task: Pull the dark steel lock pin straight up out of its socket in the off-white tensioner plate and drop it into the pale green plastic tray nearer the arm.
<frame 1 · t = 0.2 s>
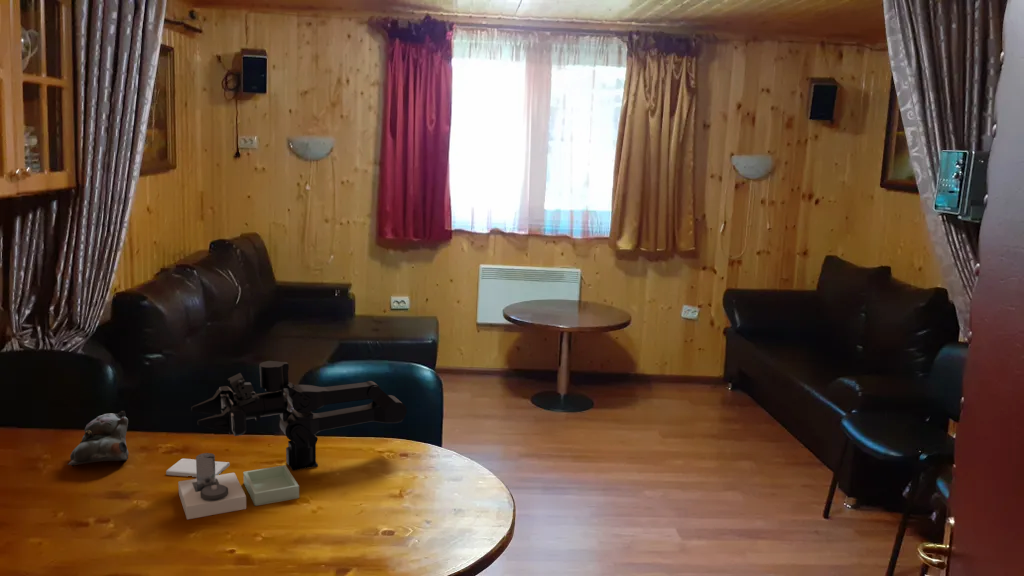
hand: (194, 415, 191), 17 cm above the table, tool horizontal, fingers open, 9 cm apart
external hard drive: (198, 472, 201), on the table
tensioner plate: (212, 501, 185), on the table
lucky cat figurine: (100, 462, 204), on the table
lock pin: (206, 497, 187), resting in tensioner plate
tray: (270, 490, 191), on the table
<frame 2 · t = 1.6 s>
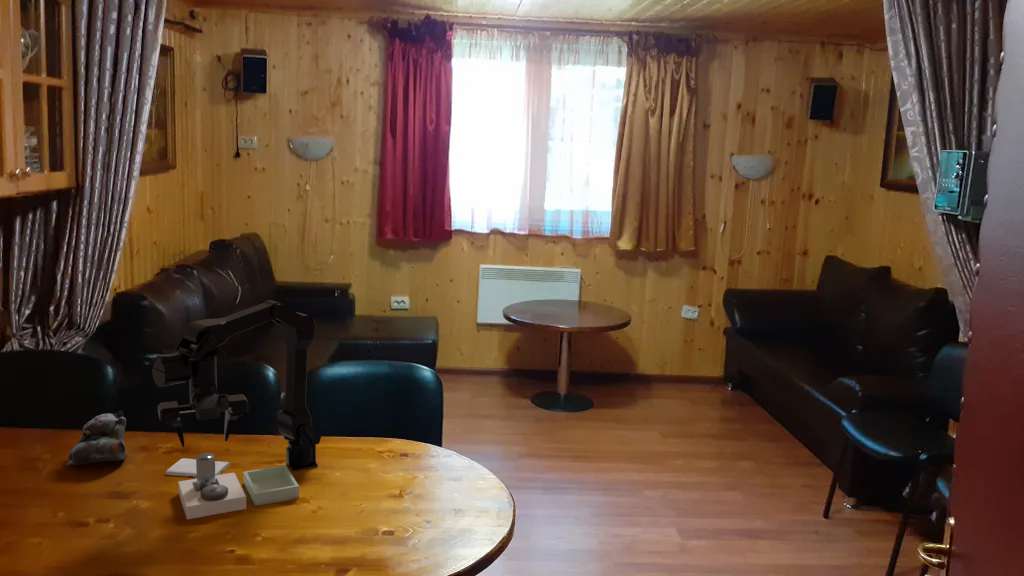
hand: (204, 443, 184), 13 cm above the table, tool pointing down, fingers open, 9 cm apart
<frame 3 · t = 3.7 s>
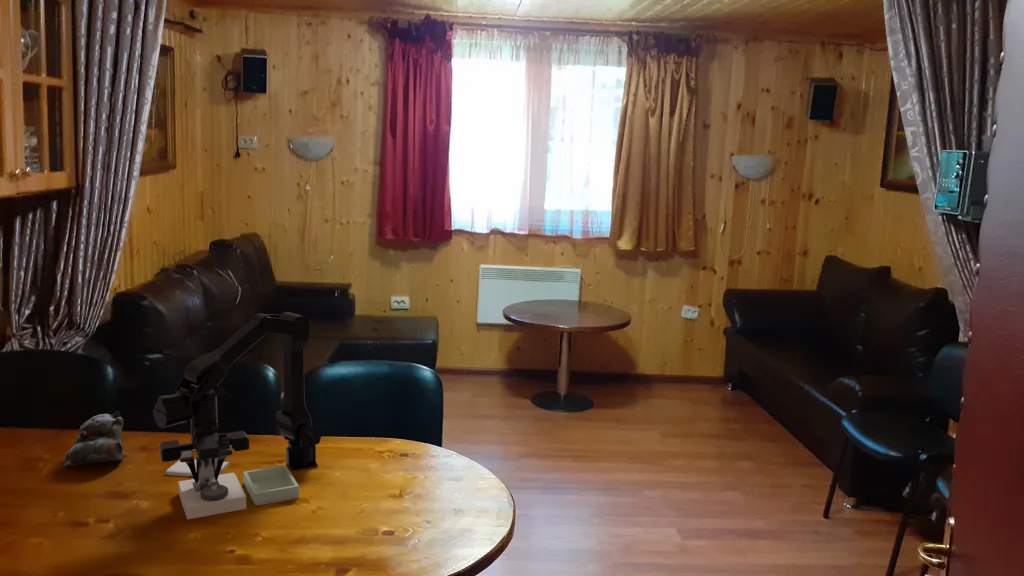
hand: (206, 480, 186), 4 cm above the table, tool pointing down, fingers closed on lock pin, 4 cm apart
lock pin: (206, 497, 187), resting in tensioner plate, touching gripper
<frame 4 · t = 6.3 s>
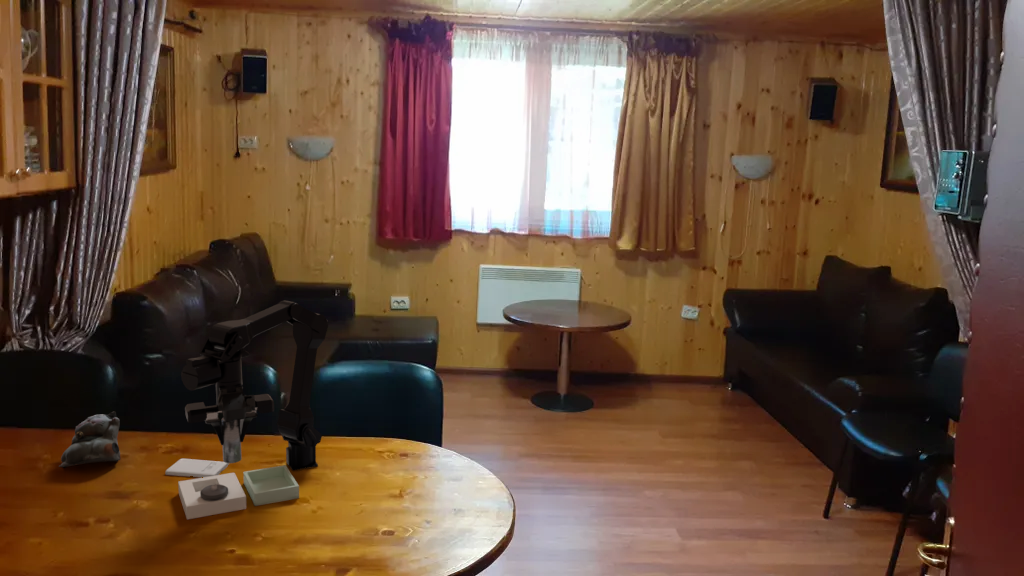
hand: (231, 443, 186), 13 cm above the table, tool pointing down, fingers closed on lock pin, 4 cm apart
lock pin: (232, 459, 187), point 9 cm above the table, touching gripper
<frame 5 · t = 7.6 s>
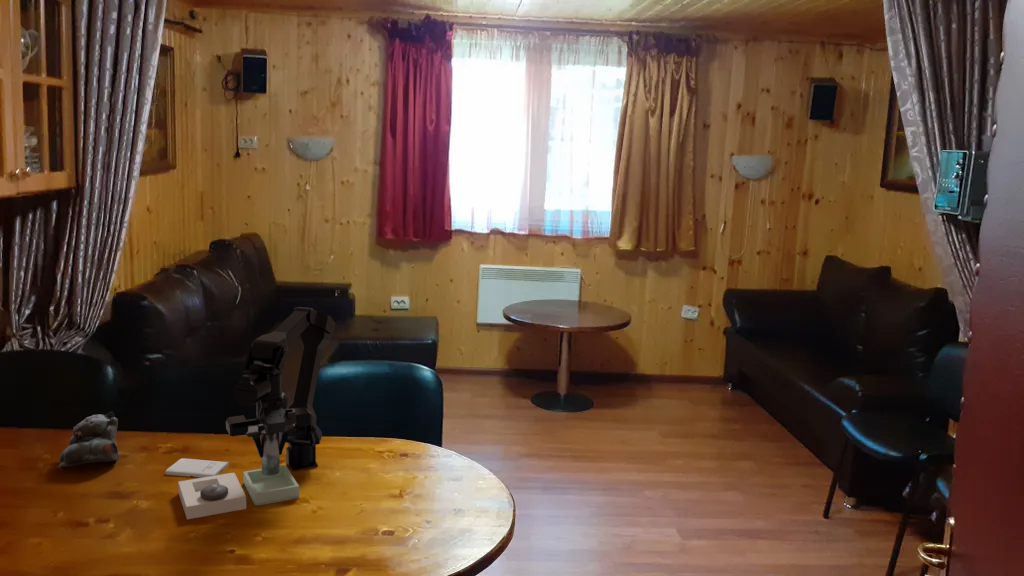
hand: (270, 455, 190), 9 cm above the table, tool pointing down, fingers closed on lock pin, 4 cm apart
lock pin: (270, 471, 190), point 5 cm above the table, touching gripper
when the fingers open (7 cm above the table, at t = 8.7 s): lock pin drops 2 cm, resting on tray.
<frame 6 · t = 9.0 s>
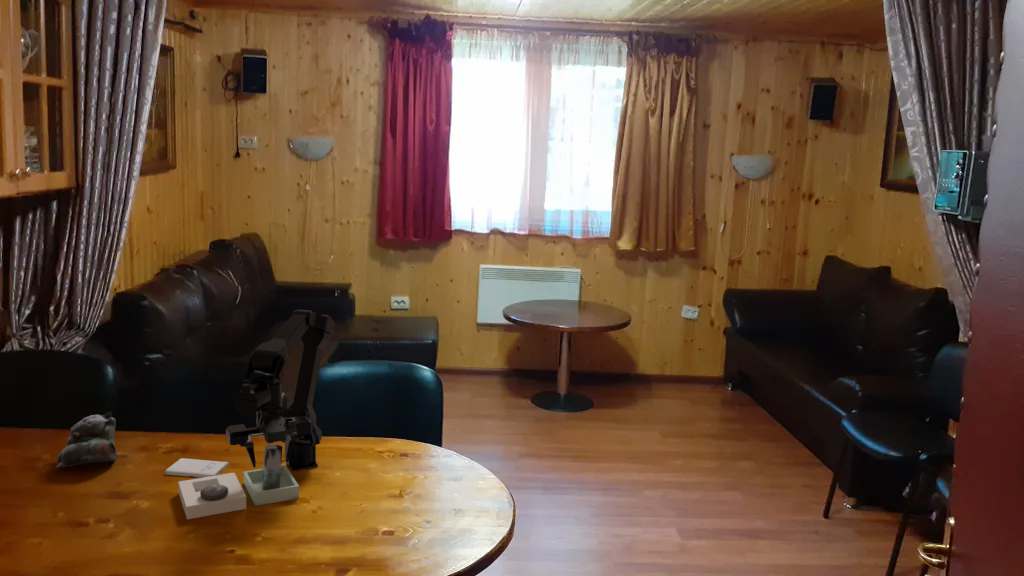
hand: (270, 464, 190), 7 cm above the table, tool pointing down, fingers open, 7 cm apart
lock pin: (271, 487, 191), point 1 cm above the table, touching tray
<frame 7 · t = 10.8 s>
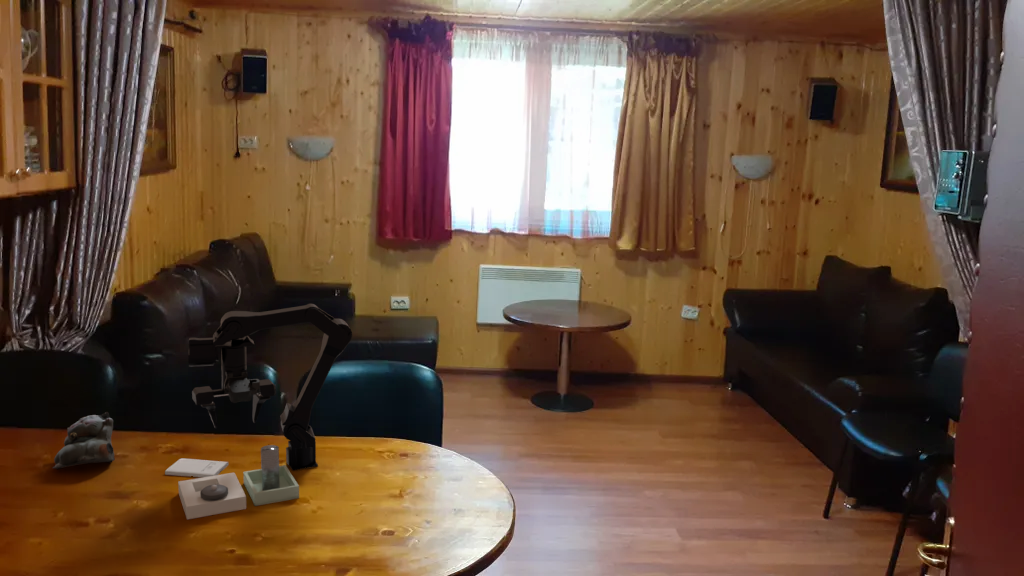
hand: (235, 425, 199), 12 cm above the table, tool pointing down, fingers open, 9 cm apart
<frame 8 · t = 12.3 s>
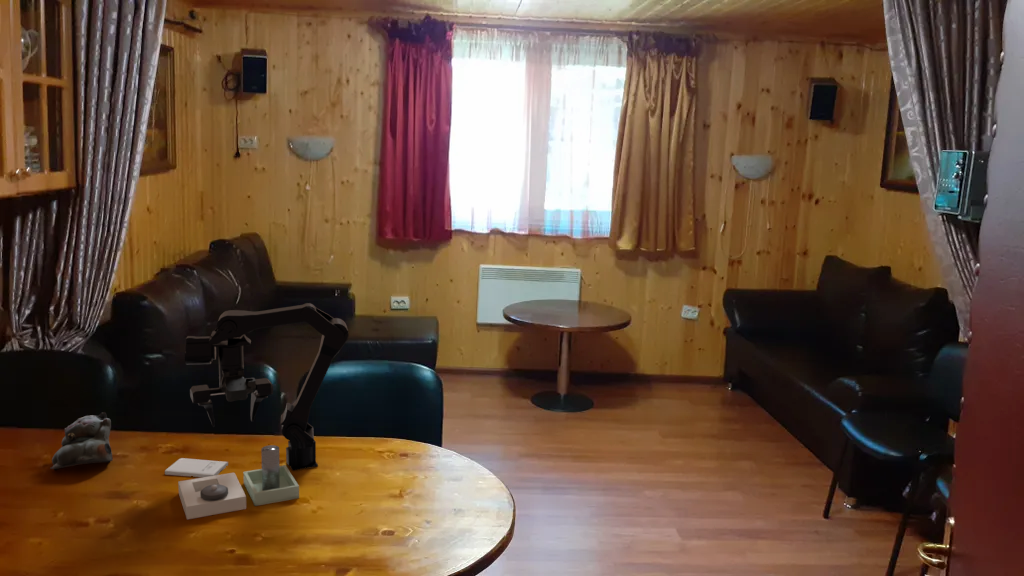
hand: (233, 423, 200), 12 cm above the table, tool pointing down, fingers open, 9 cm apart
at the end: lock pin inside the target area on the tray (0.1 cm from its centre), point 0.6 cm above the tray's base; lock pin moved 14.2 cm from its start; the gripper is holding nothing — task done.
